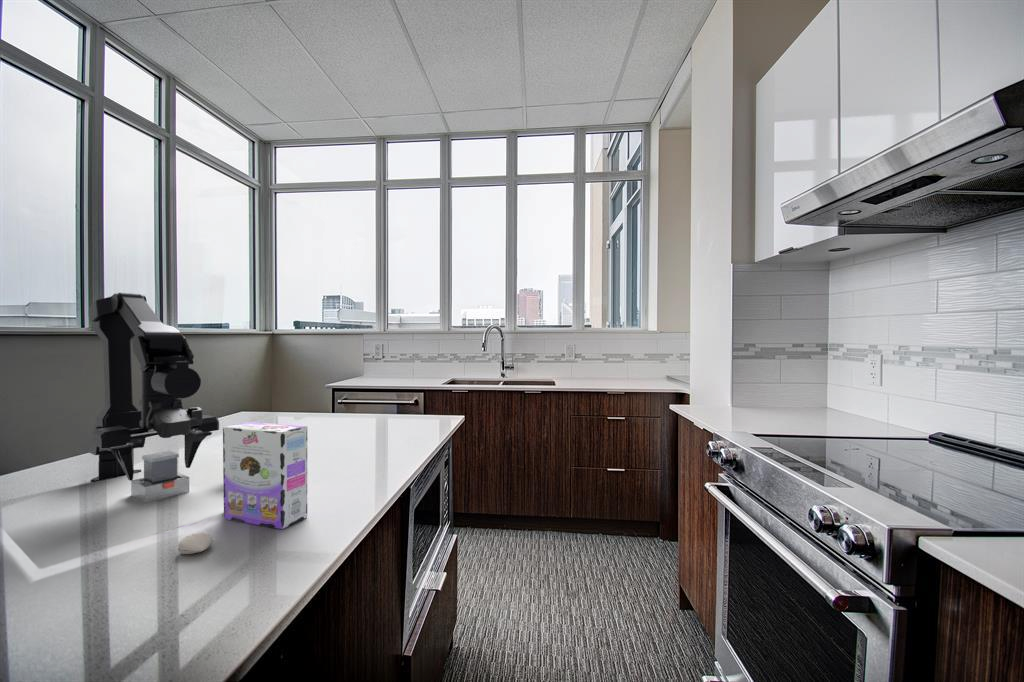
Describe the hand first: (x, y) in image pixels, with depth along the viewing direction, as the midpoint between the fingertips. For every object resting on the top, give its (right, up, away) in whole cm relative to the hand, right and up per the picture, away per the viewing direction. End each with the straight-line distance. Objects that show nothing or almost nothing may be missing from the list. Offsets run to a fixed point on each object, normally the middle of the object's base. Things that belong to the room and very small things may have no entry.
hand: (160, 473), depth 85 cm
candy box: (+26, -6, -9) cm, 27 cm away
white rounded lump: (+22, -6, -21) cm, 31 cm away
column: (0, -4, 0) cm, 4 cm away
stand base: (0, -5, 0) cm, 5 cm away
